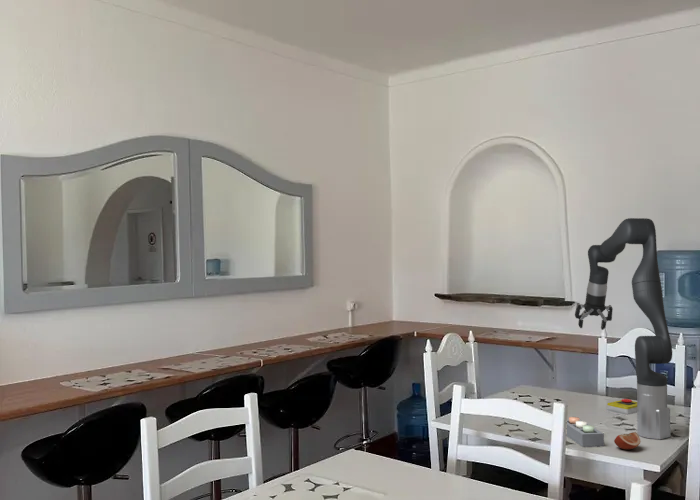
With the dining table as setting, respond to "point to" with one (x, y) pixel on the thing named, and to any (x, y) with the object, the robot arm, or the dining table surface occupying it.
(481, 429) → the dining table surface
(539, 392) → the dining table surface
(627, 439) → the fruit slice
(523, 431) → the dining table surface
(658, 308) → the robot arm
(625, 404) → the emergency button
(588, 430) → the sage button
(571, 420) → the terracotta button
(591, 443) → the console
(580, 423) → the cream button
